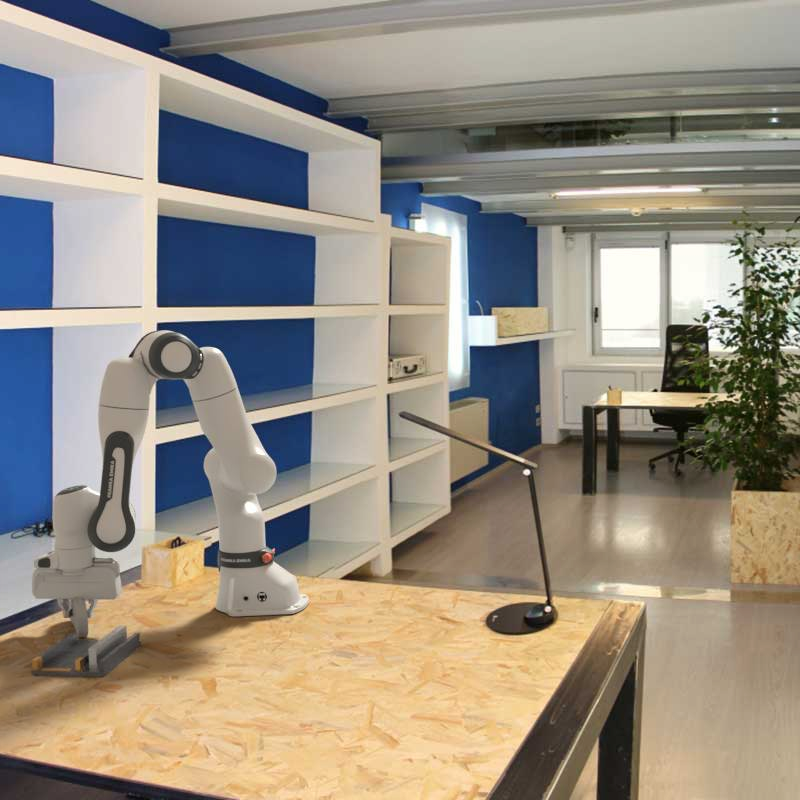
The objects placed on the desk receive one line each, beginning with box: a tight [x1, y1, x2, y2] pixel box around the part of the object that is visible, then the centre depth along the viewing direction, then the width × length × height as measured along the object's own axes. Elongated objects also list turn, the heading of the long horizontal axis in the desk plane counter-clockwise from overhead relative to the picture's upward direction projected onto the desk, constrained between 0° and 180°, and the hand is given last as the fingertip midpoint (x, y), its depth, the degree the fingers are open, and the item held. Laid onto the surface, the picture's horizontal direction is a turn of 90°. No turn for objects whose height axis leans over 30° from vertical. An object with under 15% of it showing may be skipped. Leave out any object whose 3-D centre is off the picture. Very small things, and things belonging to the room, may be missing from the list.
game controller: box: [68, 597, 89, 639], centre depth 233 cm, size 20×2×8 cm, turn 24°
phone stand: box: [31, 625, 142, 678], centre depth 211 cm, size 15×19×5 cm
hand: (78, 617), depth 233 cm, fingers closed on game controller, 4 cm apart
